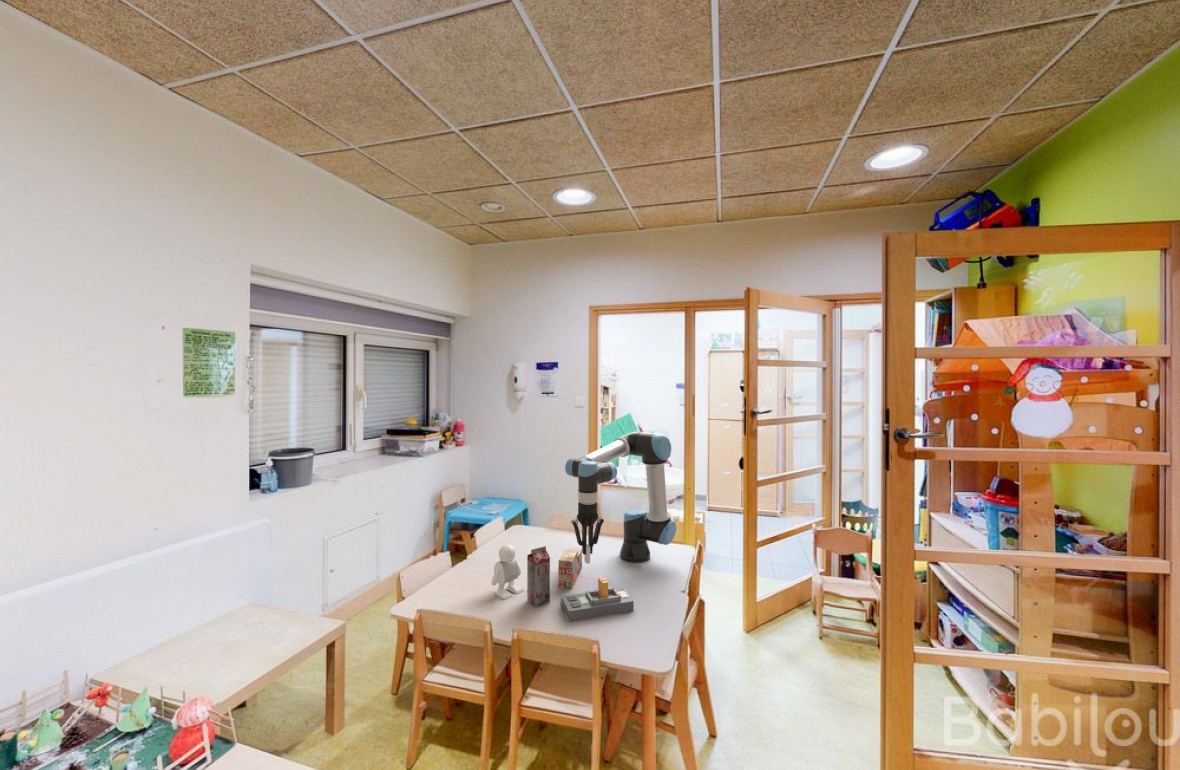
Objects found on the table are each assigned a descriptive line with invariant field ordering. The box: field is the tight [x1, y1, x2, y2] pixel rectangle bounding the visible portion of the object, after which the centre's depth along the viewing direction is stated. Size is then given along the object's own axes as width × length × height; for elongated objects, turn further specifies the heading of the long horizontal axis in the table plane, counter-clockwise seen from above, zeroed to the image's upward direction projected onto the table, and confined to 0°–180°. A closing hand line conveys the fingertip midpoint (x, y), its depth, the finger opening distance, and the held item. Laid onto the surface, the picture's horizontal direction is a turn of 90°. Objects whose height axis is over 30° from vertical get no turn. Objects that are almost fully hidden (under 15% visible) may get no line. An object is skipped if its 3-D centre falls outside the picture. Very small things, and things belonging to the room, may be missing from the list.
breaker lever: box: [597, 576, 609, 598], centre depth 179 cm, size 2×5×7 cm, turn 17°
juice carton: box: [526, 545, 551, 608], centre depth 184 cm, size 7×7×22 cm
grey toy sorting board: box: [560, 587, 635, 623], centre depth 179 cm, size 26×12×6 cm, turn 107°
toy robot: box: [491, 543, 524, 600], centre depth 192 cm, size 14×9×20 cm, turn 137°
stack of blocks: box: [557, 547, 583, 590], centre depth 206 cm, size 21×6×12 cm, turn 170°
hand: (587, 562), depth 177 cm, fingers closed
